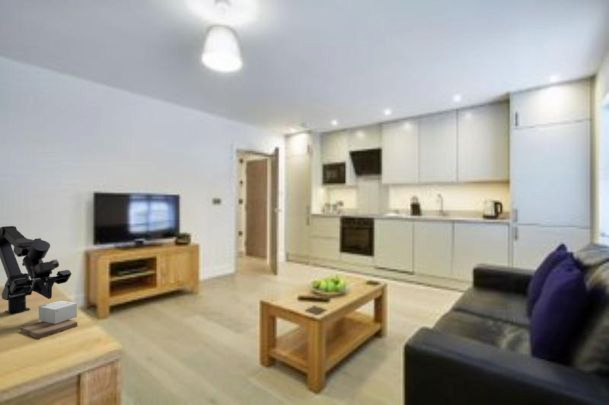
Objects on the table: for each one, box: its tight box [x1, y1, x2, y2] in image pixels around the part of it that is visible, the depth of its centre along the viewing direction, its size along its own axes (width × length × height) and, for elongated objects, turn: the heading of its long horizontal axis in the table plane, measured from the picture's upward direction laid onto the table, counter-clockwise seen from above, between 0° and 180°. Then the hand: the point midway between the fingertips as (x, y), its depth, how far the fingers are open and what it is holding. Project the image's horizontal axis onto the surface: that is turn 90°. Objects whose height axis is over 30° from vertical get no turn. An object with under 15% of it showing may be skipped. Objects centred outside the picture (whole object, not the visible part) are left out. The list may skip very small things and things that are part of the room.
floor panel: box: [20, 319, 78, 340], centre depth 119 cm, size 14×12×2 cm
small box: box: [38, 300, 78, 324], centre depth 125 cm, size 8×6×10 cm
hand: (50, 298), depth 126 cm, fingers closed
